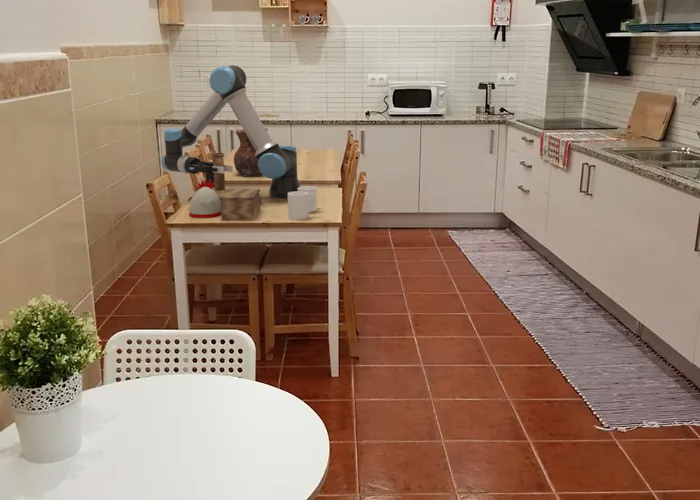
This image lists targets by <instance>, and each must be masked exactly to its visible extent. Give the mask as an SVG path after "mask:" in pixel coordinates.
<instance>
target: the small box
mask: <svg viewBox="0 0 700 500" xmlns="http://www.w3.org/2000/svg"><path fill="white" fill-rule="evenodd" d="M225 175H226V174H224V180H226V179H225V178H226V177H225ZM205 179H206V180H207V184H209V181H210V179H211V184H213V182H215V181H214V172H213V171H212V174H209V172H208V173H205ZM213 188H215V183H214V186H213Z"/></svg>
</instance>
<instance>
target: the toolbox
mask: <svg viewBox="0 0 700 500" xmlns="http://www.w3.org/2000/svg"><path fill="white" fill-rule="evenodd" d="M225 190H226V191H225ZM225 190H224V192H223V193H222V194H221V196H220V198H219V199H220V201H221V214H222V215H221V220H222V221H254V220H255V219H256V217H257V216H258V215H259V212H260V211H261V204H262V195H260V193H261V188H227V189H225Z"/></svg>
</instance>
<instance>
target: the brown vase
mask: <svg viewBox="0 0 700 500" xmlns="http://www.w3.org/2000/svg"><path fill="white" fill-rule="evenodd" d="M265 129H266V131H267V132H268V128H266V127H265ZM235 134H236V136H237V137H238V140H239V147H238V149H237V150H236V151H235V153H234V156H233V165H234V168H235V170H236V172H238V174H240V175H241V176H243V175H246V176H245V177H250V176H253V177H260V176H259V175H262V174H261V172H260V171H259V168H258V160H257V158H256V157H255V154H256V150H255V148H254V146H253V145H252V143H251V141H250V139H249V138H248V136H247V134H246V133H245V131H244V129H243V128H242V129H236V130H235ZM262 176H263V175H262Z"/></svg>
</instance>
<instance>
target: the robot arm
mask: <svg viewBox="0 0 700 500" xmlns="http://www.w3.org/2000/svg"><path fill="white" fill-rule="evenodd" d="M246 84H247V75H246V73H245V71H244V69H243V68H242V67H240V66H237V65H219V66H218V67H216V68H214V69H213V70H212V71H211V73H210V75H209V85H210V88H211V89H212V91H213V93H211V95H210V96H209V97H208V99H207V100H206V101H205V102H204V103H203V104H202V106H201V107H200V108H199V109H198V110H197V111H196V113H194V115H193V116H192V117H191V119H190V120H189V121H188V122H187V123H186V124H185V126H183V128H182V129H181V128H166V129H165V130H164V136H163V137H164V145H165V147H164V148H165V154H164V155H163V156H162V158H161V166H162V168H163V169H164V170H166V171H170V172H175V173H176V172H178V173H184V175H185V174H186V175H187V174H193V175H197V174H198V173H199V172H200V173H205V174H206V173H208V172H209V174H212V171H213V172H214V173H222V174H224V175H225V172H228V173H233V170H234V169H233V165H230V164H224V167H218V166H214V163H213V161H203V160H202V161H201V159H199V157H195V156H189V155H188V156H187V155H186V156H185V155H183V148H186V147H190V146H193V145H194V144H195V143H196V142H197V139H198V137H199V136H200V134H201V133H202V132H203V131H204V130H205V129H206V128H207V126H209V125H210V124H211V122H212V121H213V119H214V118H215V117H216V116H217V115H218V114H219V113H220V112H221V111H222V109H224V107H225V106H226V104H228V105H229V106H230V109H231V110H232V111H233V114H234V115H235V117H236V119H237V121H238V122H239V124H240V126H241V127H242V129H244V131H245V133H246V134H247V136H248V138H249V139H250V141H251V143H252V145H253V146H254V148H255V150H256V154H255V157H256V158H257V160H258V168H259V171H260V172H261V174H262V176H263V177H265V178H267V179H270V180H271V183H270V187H269V189H268V190H269V191H268V193H269V196H270V197H274V198H288V193H289V192H295V191H298V187H301V185H300V183H299V182H300V181H299V179H298V152H297V147H296V146H294V145H280V144H279V143H278V142H275V141H273V139H272V137H271V136H270V134H269V132H268V131H266V129H265V128H266V127H265V125H264V124H263V122H262V121H261V120H262V119H260V116H259V115H258V114H257V113H258V112H256V110H255V108H254V106H253V105H252V103H251V101H250V100H249V97H248V95H247V87H246Z"/></svg>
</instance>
